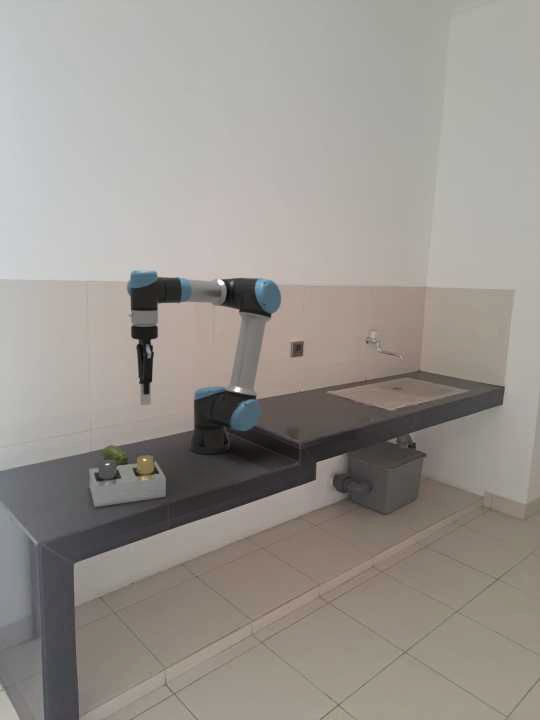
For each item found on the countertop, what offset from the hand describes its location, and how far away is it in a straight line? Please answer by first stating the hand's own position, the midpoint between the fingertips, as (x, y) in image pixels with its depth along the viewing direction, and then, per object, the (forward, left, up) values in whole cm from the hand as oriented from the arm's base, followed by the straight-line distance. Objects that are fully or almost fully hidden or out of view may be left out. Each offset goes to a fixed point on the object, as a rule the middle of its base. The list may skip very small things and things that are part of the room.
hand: (145, 404), depth 155 cm
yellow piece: (0, +1, -27) cm, 26 cm away
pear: (+5, -26, -27) cm, 38 cm away
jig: (+6, +1, -26) cm, 27 cm away
